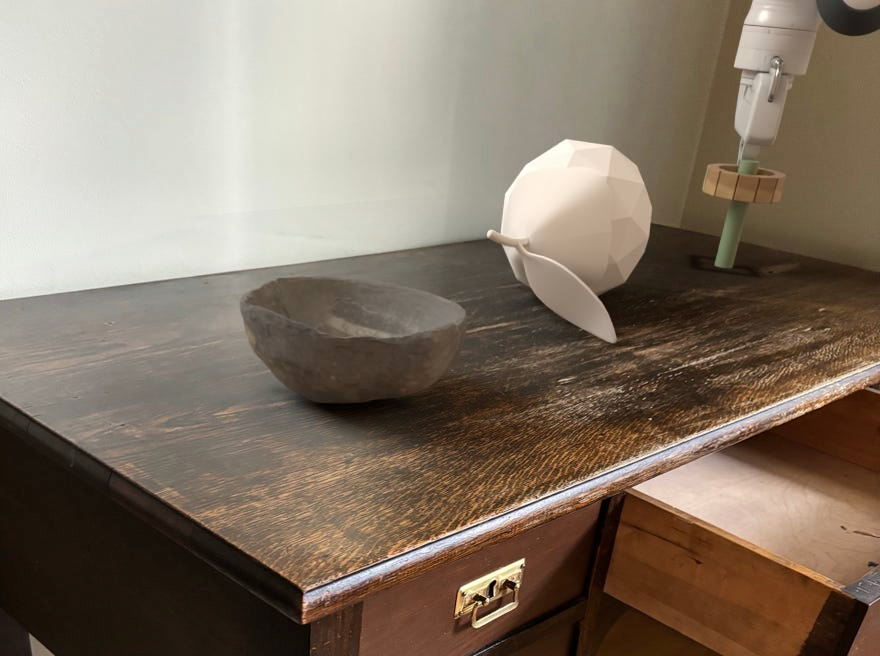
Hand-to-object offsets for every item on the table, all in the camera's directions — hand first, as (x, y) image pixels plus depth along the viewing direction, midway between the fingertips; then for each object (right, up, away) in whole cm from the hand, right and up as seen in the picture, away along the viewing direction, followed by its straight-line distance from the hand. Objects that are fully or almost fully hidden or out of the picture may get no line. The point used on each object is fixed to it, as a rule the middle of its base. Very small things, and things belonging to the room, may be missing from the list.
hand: (742, 176), depth 128 cm
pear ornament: (-28, -25, -20) cm, 42 cm away
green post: (-2, -12, +3) cm, 12 cm away
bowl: (-50, -41, -48) cm, 81 cm away
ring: (-1, -4, -2) cm, 5 cm away
